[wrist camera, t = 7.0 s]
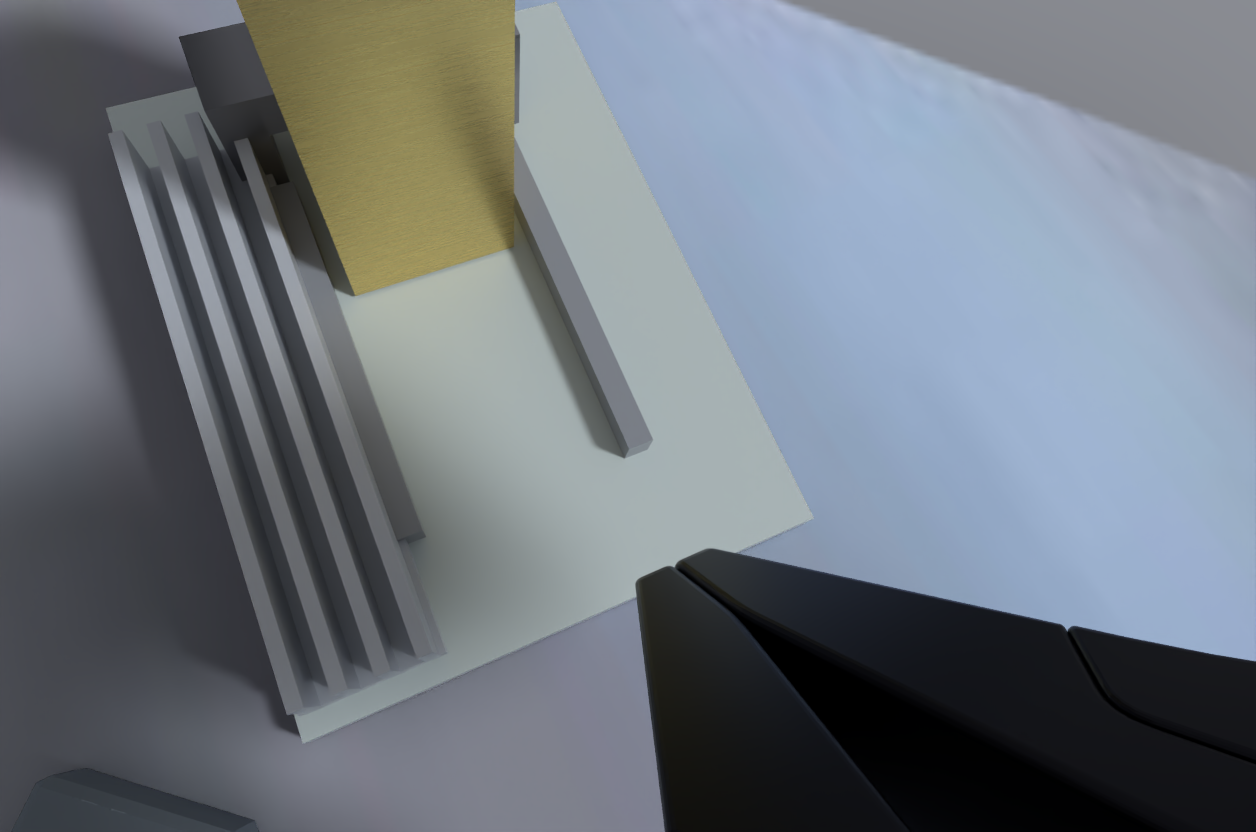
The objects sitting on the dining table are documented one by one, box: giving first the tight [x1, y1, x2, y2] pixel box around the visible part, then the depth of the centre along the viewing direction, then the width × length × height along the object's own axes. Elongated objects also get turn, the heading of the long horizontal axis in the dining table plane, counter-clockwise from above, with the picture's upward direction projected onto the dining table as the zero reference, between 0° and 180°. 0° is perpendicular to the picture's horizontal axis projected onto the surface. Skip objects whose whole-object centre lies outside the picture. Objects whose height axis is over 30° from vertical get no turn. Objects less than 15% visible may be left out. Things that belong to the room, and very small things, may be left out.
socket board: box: [106, 2, 814, 744], centre depth 18 cm, size 16×12×4 cm
